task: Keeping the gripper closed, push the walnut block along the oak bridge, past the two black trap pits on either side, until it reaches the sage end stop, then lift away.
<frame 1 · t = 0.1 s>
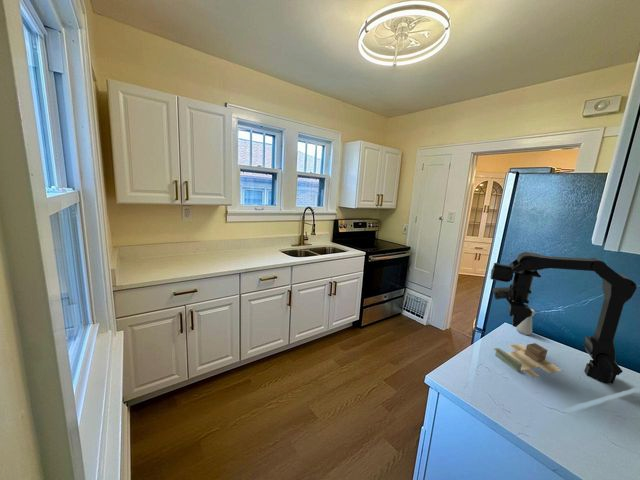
hand: (512, 321, 103), 15 cm above the counter, fingers open, 9 cm apart
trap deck: (524, 361, 102), on the counter
salt shaker: (522, 334, 120), on the counter
walnut block: (534, 357, 103), point 1 cm above the counter, touching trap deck
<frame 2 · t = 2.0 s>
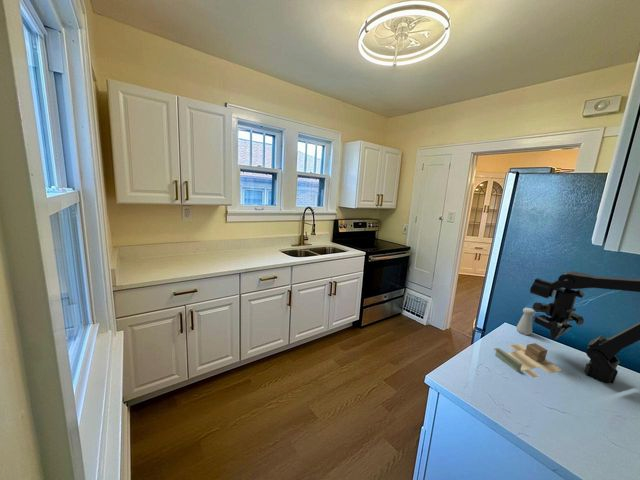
hand: (553, 339, 103), 8 cm above the counter, fingers closed
nothing on the counter moved.
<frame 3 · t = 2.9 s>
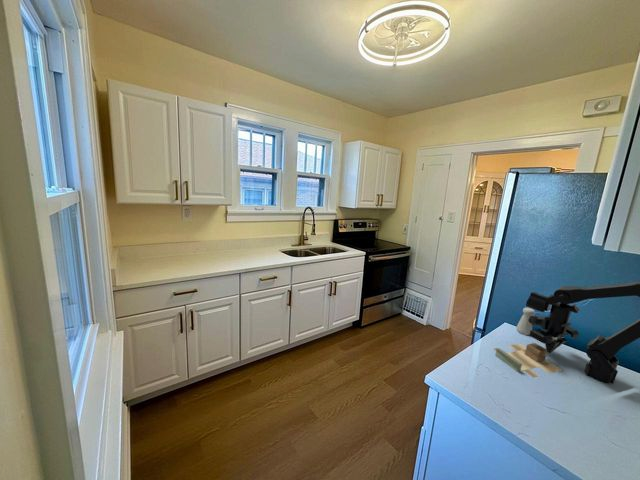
hand: (548, 352, 105), 2 cm above the counter, fingers closed
nothing on the counter moved.
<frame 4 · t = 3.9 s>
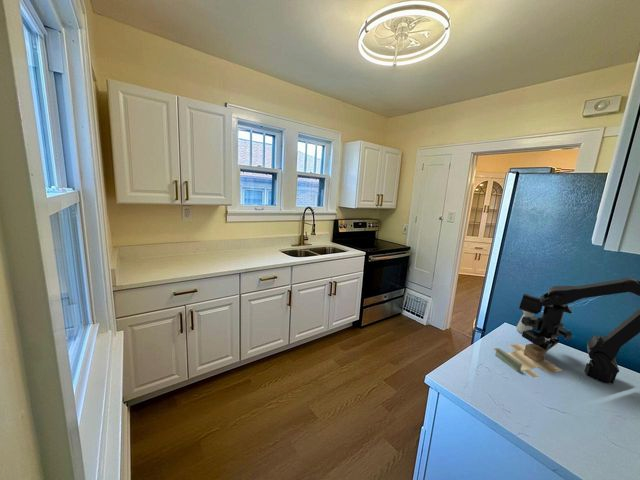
hand: (541, 353, 104), 2 cm above the counter, fingers closed
walnut block: (533, 357, 103), point 1 cm above the counter, touching gripper
everything else where it was.
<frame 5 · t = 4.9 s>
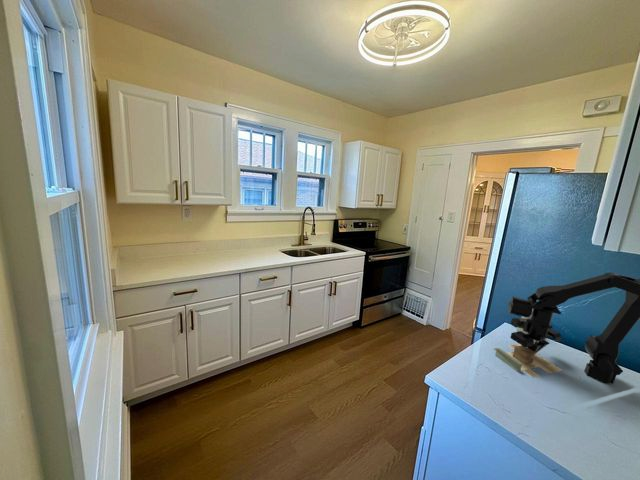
hand: (530, 355, 102), 2 cm above the counter, fingers closed
walnut block: (522, 359, 101), point 1 cm above the counter, touching gripper
everything else where it was.
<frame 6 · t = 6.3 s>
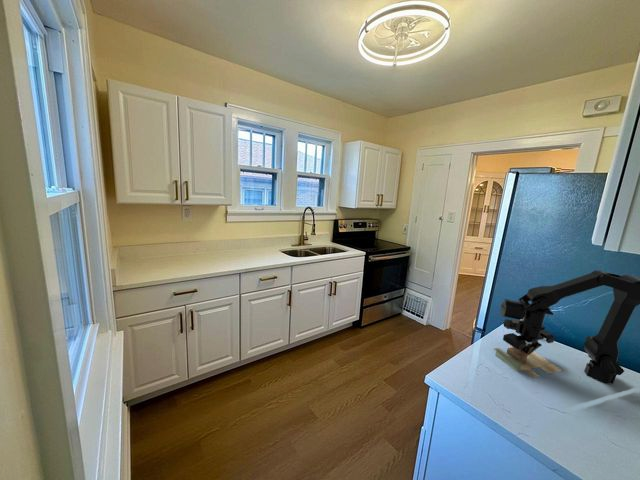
hand: (523, 357, 101), 2 cm above the counter, fingers closed
walnut block: (515, 361, 100), point 1 cm above the counter, touching gripper, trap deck
everything else where it was.
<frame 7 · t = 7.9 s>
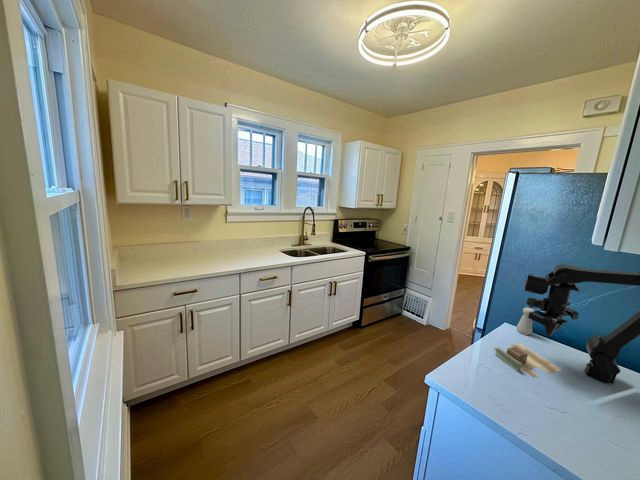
hand: (548, 335, 100), 11 cm above the counter, fingers closed
walnut block: (515, 361, 100), point 1 cm above the counter, touching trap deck
everything else where it was.
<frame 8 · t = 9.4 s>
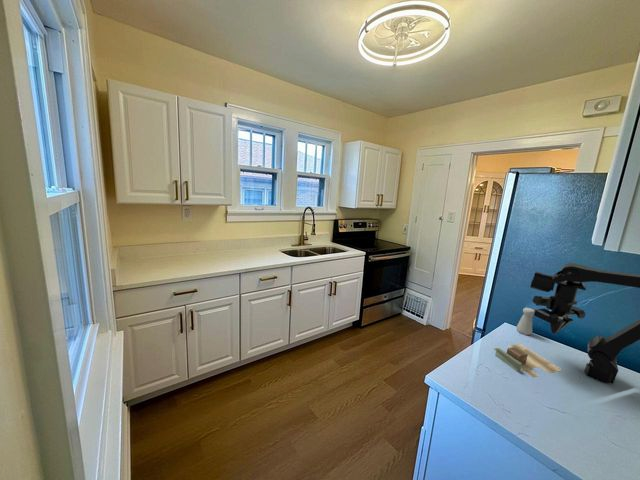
hand: (553, 333, 101), 12 cm above the counter, fingers closed
nothing on the counter moved.
at the end: walnut block 0.7 cm from the target spot, point 1.2 cm above the counter; walnut block tilted 0° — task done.
